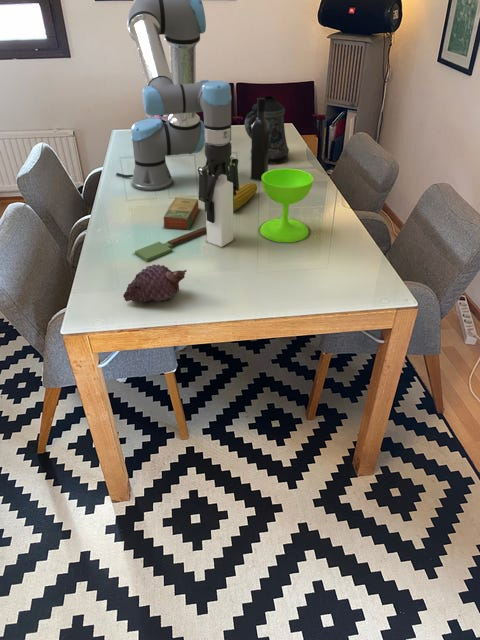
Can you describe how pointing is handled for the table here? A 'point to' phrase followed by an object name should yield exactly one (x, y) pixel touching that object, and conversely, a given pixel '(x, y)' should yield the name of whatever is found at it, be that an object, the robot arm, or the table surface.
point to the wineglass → (285, 203)
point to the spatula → (166, 245)
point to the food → (244, 194)
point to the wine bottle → (259, 142)
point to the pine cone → (154, 284)
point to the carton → (181, 213)
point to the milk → (221, 213)
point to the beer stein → (272, 129)
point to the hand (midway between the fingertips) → (219, 217)
